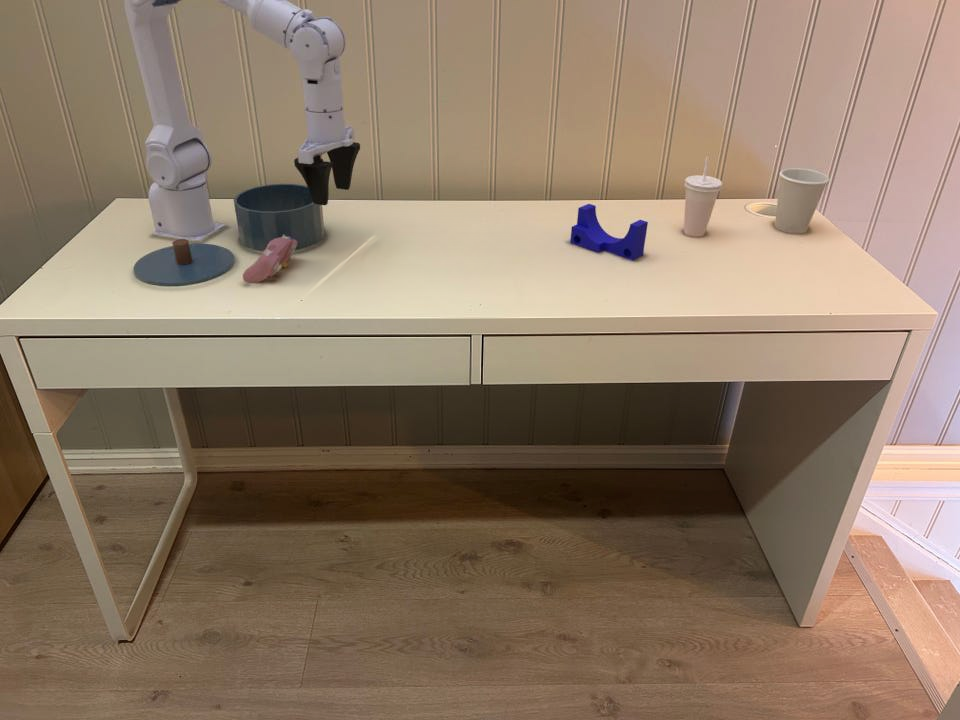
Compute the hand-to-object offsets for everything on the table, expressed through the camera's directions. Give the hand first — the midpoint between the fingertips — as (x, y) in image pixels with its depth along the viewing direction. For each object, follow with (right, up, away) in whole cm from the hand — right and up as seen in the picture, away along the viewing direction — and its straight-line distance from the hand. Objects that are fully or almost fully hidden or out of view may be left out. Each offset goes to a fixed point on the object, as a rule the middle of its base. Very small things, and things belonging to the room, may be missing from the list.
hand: (332, 196), depth 116 cm
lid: (-23, -11, -1) cm, 26 cm away
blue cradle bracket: (+45, -7, +10) cm, 47 cm away
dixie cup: (+81, -2, +20) cm, 84 cm away
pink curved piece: (-9, -13, -1) cm, 16 cm away
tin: (-11, -5, +11) cm, 16 cm away
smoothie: (+63, -3, +17) cm, 65 cm away
